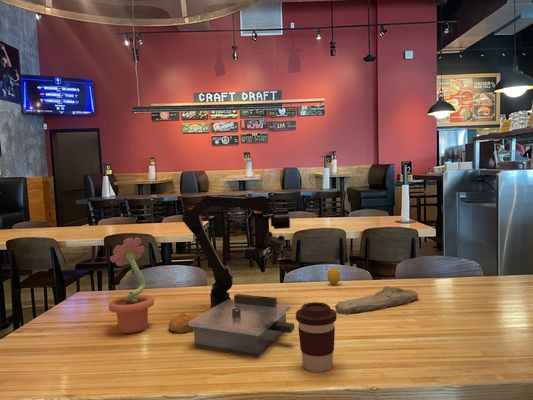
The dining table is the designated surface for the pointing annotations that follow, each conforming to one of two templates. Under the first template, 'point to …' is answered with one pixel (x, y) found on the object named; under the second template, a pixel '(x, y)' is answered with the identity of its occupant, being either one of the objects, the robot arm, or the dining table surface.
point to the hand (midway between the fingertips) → (263, 272)
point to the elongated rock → (377, 300)
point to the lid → (242, 315)
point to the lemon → (333, 275)
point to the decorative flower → (133, 305)
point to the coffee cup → (316, 335)
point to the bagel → (181, 323)
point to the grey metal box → (241, 339)
